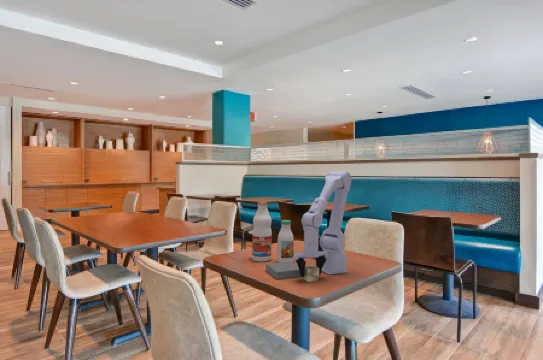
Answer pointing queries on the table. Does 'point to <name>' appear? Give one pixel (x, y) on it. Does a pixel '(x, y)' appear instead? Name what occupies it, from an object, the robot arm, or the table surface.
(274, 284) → the table surface
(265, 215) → the fruit juice
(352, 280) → the table surface
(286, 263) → the grey base
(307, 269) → the maple cube
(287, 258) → the milk bottle
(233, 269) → the table surface
